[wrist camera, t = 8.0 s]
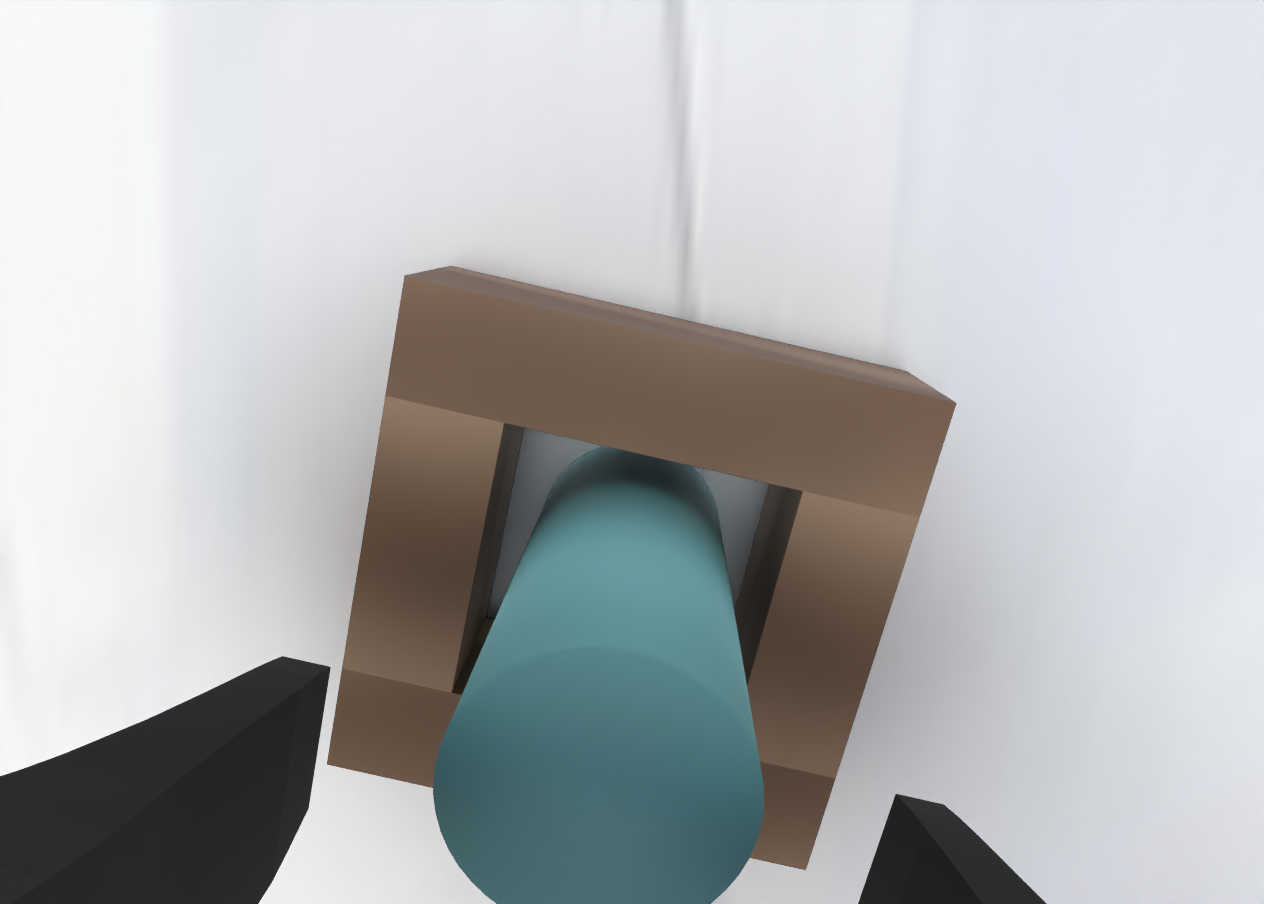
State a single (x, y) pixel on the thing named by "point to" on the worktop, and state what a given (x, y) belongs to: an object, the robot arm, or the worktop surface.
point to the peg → (608, 704)
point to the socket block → (649, 425)
